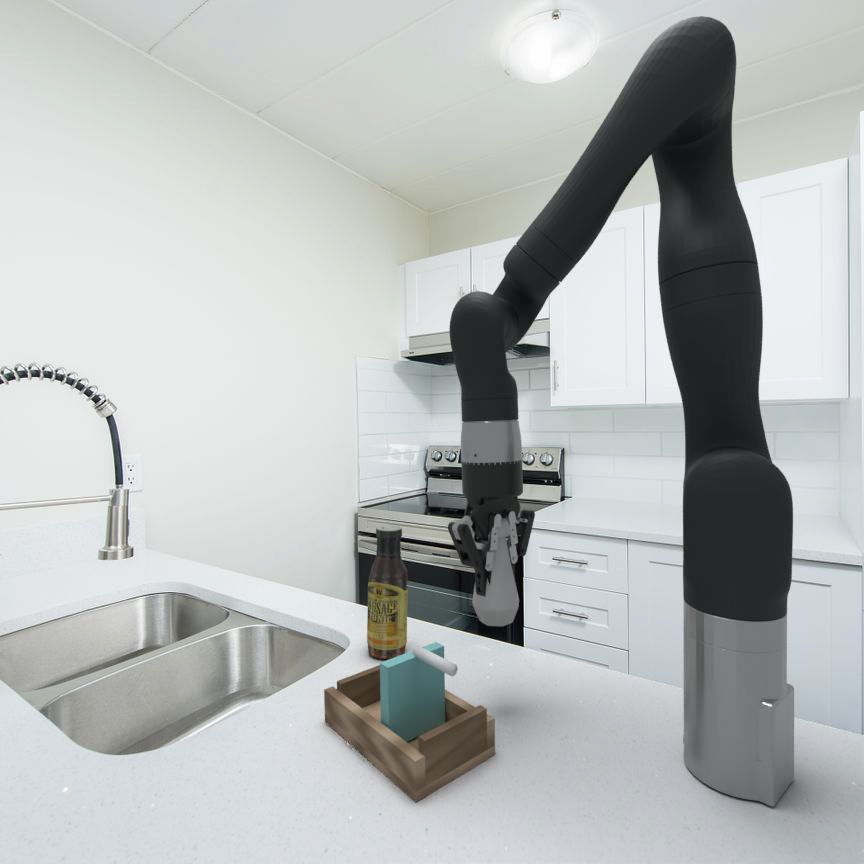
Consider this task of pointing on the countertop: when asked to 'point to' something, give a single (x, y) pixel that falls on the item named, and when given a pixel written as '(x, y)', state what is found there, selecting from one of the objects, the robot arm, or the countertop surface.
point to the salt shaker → (498, 586)
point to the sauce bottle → (387, 597)
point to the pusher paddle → (414, 690)
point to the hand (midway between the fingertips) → (496, 594)
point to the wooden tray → (419, 757)
